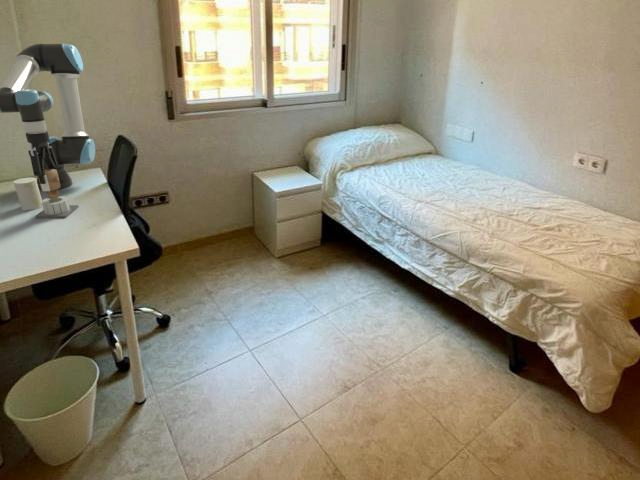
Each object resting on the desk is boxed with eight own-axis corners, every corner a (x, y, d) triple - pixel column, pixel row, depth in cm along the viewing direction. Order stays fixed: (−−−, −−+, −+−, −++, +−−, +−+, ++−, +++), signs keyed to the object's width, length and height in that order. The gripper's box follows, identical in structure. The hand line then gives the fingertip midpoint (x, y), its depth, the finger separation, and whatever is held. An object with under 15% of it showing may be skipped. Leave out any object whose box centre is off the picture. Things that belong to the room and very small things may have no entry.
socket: (50, 207, 190) (47, 195, 188) (78, 207, 191) (75, 195, 188) (35, 218, 179) (32, 205, 177) (65, 217, 180) (62, 205, 177)
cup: (33, 211, 186) (25, 184, 181) (16, 209, 188) (8, 182, 182) (47, 204, 193) (40, 178, 188) (31, 202, 195) (24, 176, 190)
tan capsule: (49, 194, 185) (42, 169, 180) (66, 194, 185) (60, 169, 180) (40, 200, 178) (33, 174, 174) (58, 200, 179) (51, 174, 174)
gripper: (39, 126, 179) (53, 180, 189) (11, 137, 161) (28, 196, 171) (58, 126, 179) (71, 180, 189) (32, 137, 161) (48, 195, 171)
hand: (51, 187), depth 180 cm, fingers closed on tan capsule, 7 cm apart
